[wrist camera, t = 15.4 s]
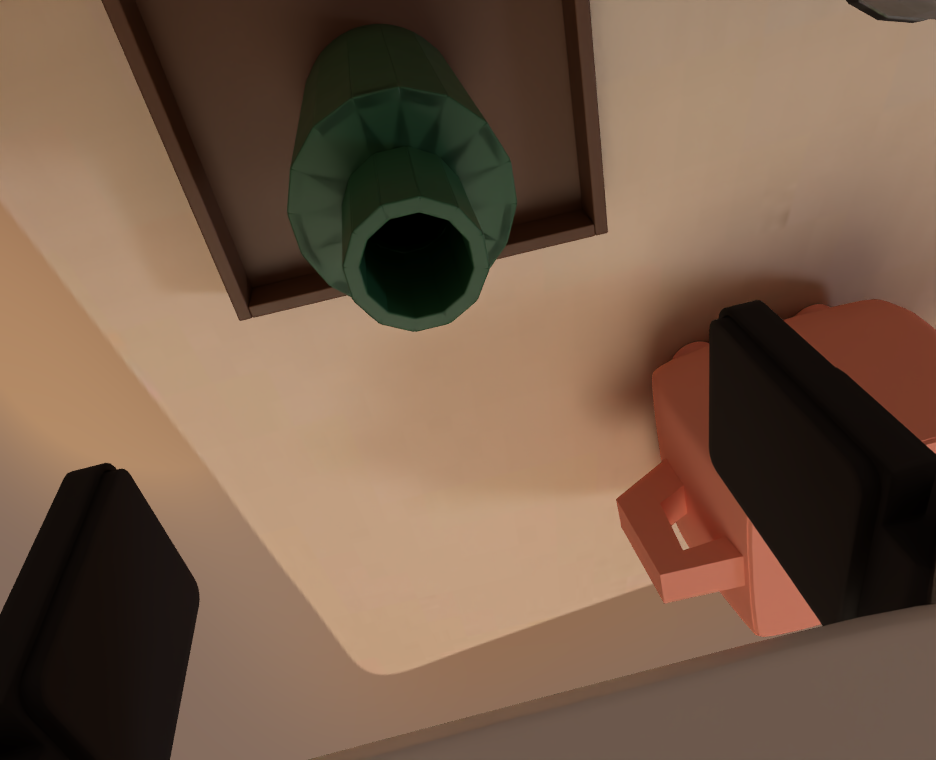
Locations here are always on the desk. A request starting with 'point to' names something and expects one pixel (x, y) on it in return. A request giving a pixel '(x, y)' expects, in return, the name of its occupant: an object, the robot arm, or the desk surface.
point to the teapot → (707, 497)
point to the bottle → (397, 179)
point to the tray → (280, 99)
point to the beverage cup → (897, 9)
